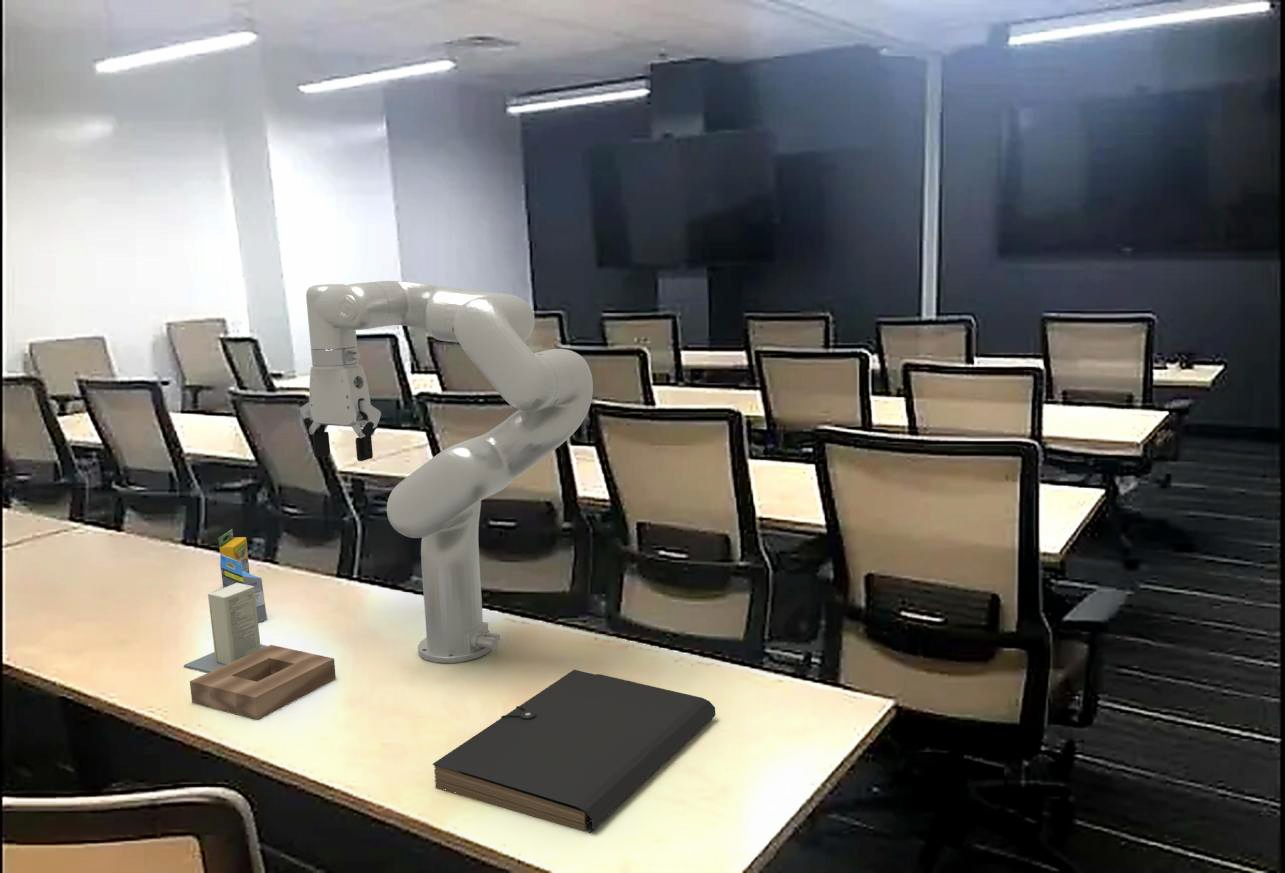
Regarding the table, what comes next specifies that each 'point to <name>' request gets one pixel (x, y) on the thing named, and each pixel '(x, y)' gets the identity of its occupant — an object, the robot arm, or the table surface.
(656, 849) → the table surface
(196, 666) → the slate mat
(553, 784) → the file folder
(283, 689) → the pocket block
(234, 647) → the skincare box
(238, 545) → the crayon box
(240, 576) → the label tape box
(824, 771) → the table surface
